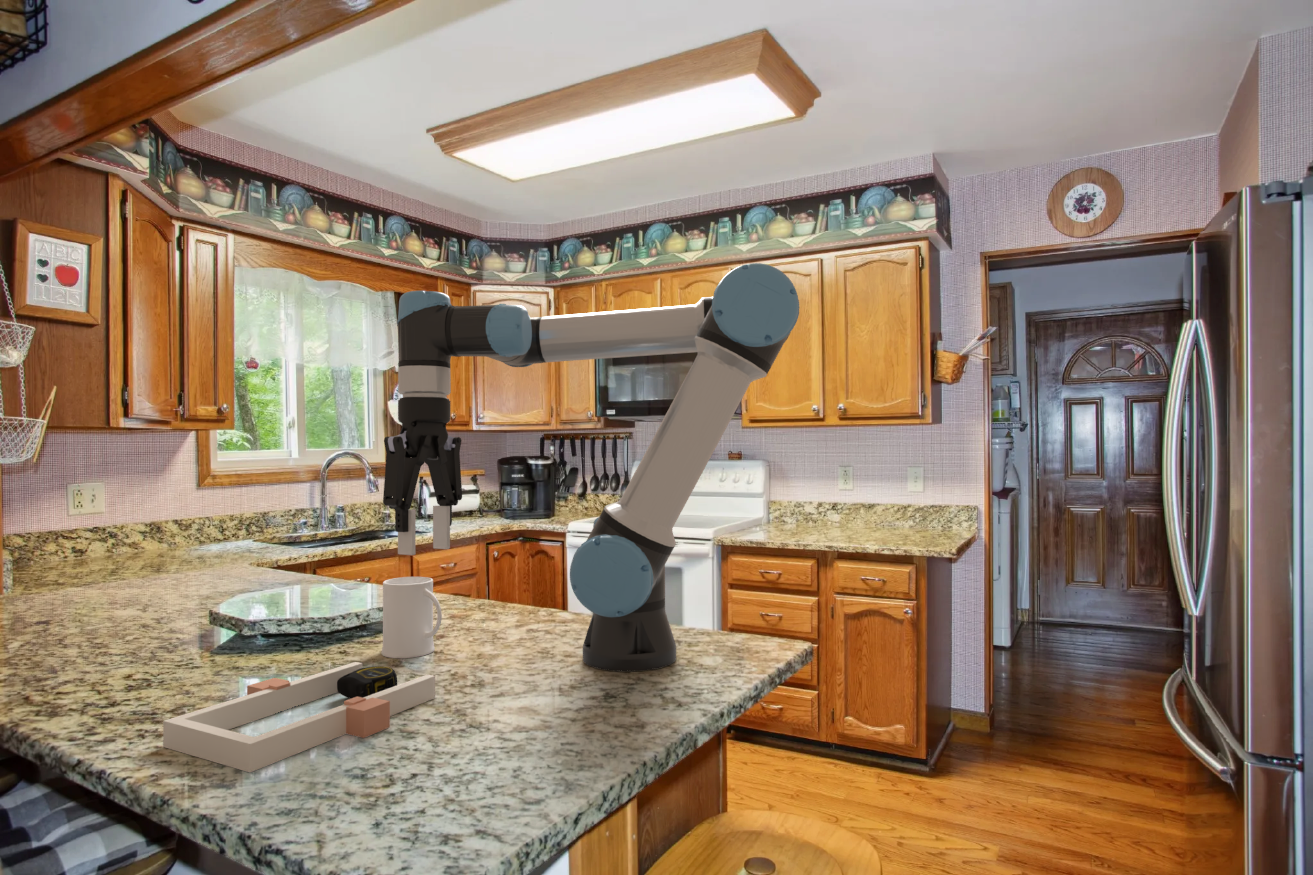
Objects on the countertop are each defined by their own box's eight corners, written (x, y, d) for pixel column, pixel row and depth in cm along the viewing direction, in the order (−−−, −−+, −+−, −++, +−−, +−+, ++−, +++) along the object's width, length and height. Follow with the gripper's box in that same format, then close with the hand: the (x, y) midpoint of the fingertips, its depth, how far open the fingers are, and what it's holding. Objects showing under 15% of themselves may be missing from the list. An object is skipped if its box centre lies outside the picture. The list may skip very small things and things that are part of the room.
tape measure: (334, 700, 107) (334, 673, 107) (380, 688, 112) (380, 662, 112) (360, 711, 102) (360, 682, 103) (406, 697, 108) (406, 670, 108)
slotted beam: (451, 701, 106) (451, 675, 106) (268, 777, 81) (268, 745, 81) (340, 679, 116) (341, 656, 116) (148, 742, 91) (148, 713, 91)
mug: (457, 653, 130) (457, 581, 131) (414, 664, 124) (414, 588, 124) (413, 642, 137) (413, 574, 138) (370, 653, 130) (370, 581, 131)
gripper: (450, 400, 127) (450, 542, 127) (354, 393, 110) (354, 558, 109) (486, 399, 123) (487, 545, 123) (393, 392, 106) (393, 561, 106)
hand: (424, 551), depth 116 cm, fingers open, 6 cm apart
